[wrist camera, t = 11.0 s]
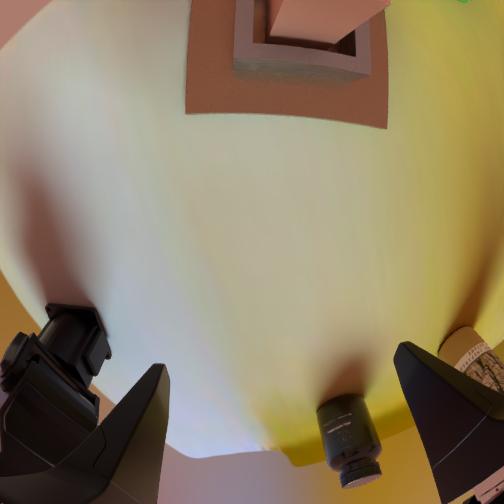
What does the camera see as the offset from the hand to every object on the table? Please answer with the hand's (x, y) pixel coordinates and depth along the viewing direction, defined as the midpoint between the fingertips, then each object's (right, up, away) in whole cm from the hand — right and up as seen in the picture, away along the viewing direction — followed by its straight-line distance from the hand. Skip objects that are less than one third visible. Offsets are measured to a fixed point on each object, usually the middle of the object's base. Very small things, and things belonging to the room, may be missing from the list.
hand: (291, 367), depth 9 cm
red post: (+2, +19, +4) cm, 20 cm away
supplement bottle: (+10, -17, +22) cm, 30 cm away
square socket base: (+1, +20, +5) cm, 20 cm away
